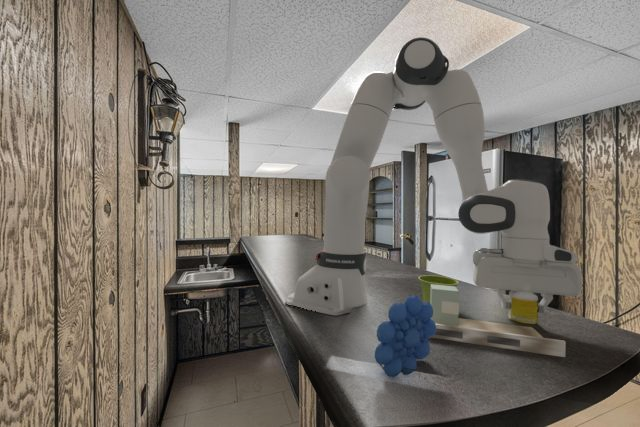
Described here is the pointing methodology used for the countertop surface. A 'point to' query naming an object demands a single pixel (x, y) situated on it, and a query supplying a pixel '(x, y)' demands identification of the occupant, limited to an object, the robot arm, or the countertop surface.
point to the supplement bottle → (523, 306)
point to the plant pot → (436, 280)
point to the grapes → (405, 336)
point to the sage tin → (444, 304)
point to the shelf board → (500, 336)
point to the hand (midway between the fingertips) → (522, 310)
